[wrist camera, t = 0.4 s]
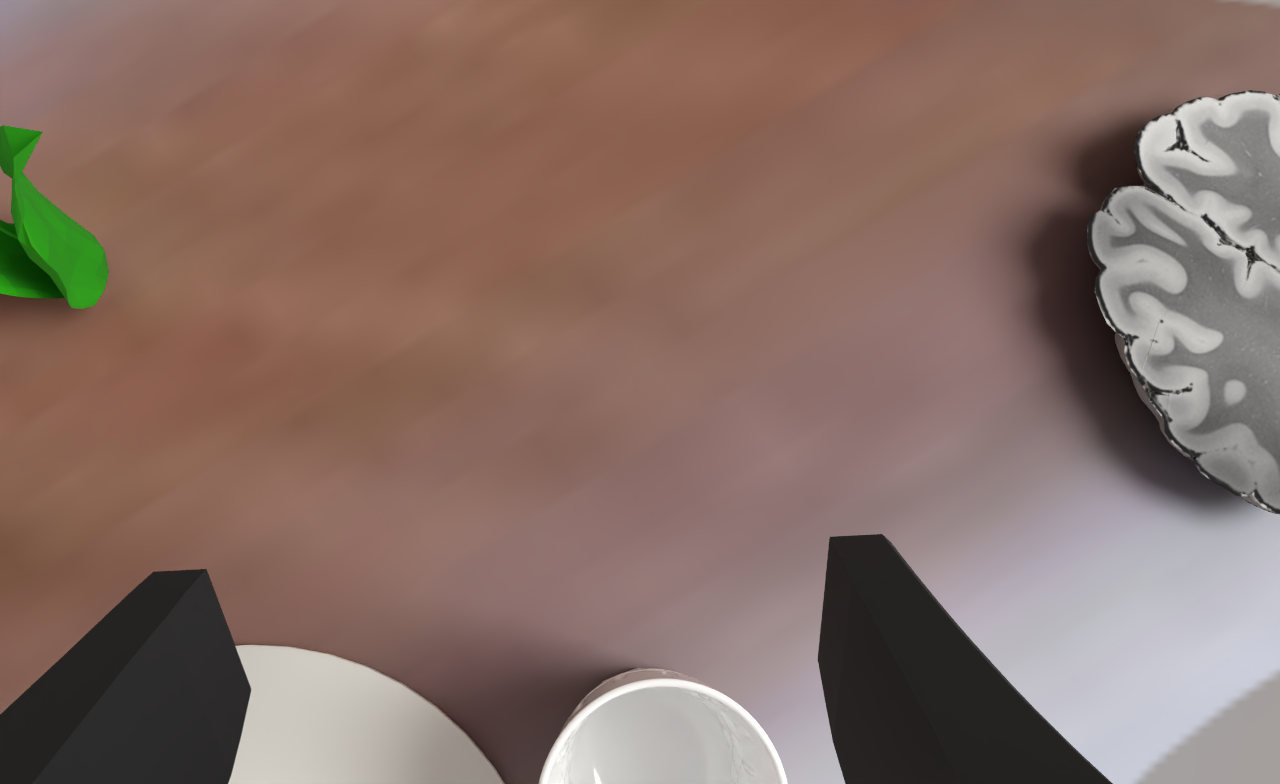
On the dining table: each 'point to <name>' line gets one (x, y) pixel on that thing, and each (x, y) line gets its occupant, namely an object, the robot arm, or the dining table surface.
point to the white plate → (345, 726)
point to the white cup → (660, 736)
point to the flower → (44, 238)
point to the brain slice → (1202, 285)
